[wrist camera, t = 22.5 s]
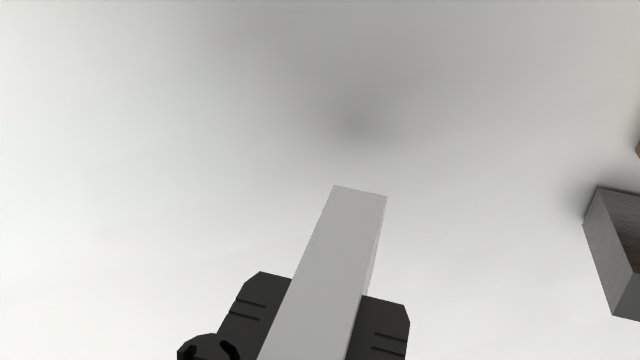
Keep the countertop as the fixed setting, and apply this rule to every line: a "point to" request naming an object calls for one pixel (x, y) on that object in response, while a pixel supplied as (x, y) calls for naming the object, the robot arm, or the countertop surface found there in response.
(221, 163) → the countertop surface
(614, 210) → the bar
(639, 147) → the tray
